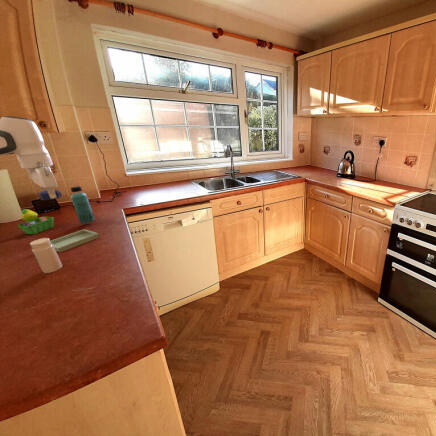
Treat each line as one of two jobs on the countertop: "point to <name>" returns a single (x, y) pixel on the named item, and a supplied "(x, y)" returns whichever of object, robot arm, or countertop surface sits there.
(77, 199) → the beverage bottle
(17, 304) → the countertop surface
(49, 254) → the jam jar
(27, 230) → the fruit basket
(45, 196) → the jar lid
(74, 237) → the serving tray
